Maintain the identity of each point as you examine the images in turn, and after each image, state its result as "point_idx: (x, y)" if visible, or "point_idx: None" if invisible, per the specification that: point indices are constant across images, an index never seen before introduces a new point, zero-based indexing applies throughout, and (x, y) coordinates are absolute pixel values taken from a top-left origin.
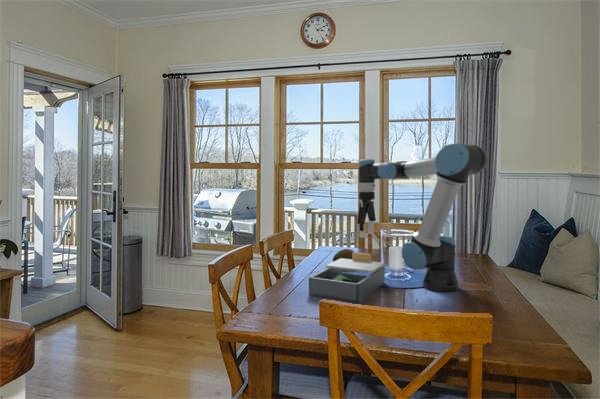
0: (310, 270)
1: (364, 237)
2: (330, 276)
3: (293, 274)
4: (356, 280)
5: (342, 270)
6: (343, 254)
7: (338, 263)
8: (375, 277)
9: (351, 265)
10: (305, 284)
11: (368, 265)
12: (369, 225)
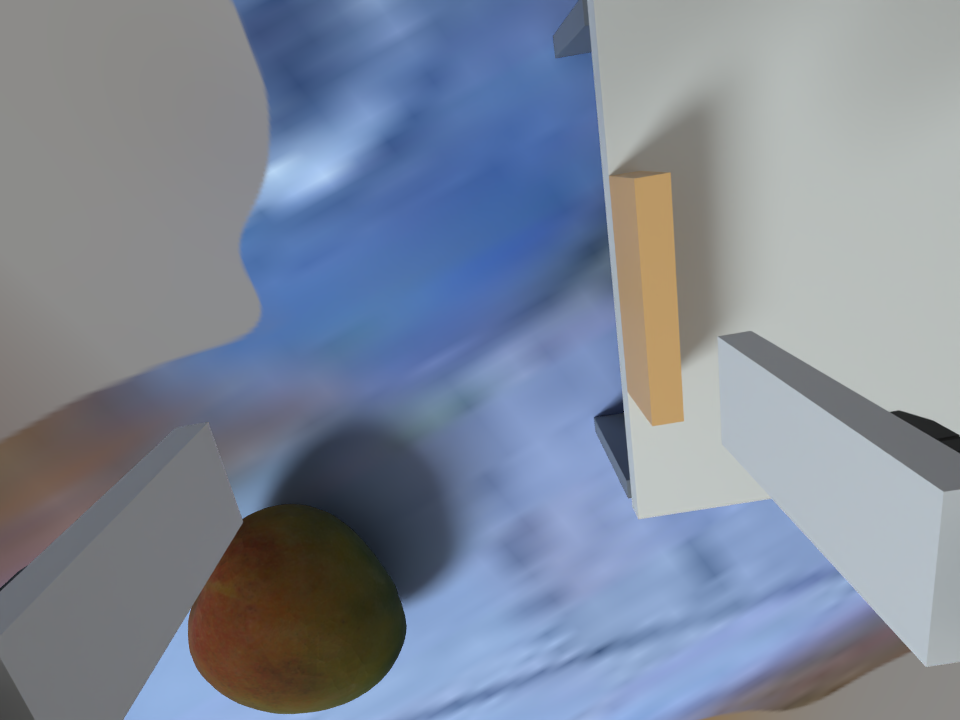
0: (559, 681)
1: (757, 336)
2: None
3: (715, 697)
4: None
5: (615, 441)
6: (353, 631)
7: None
8: None
9: (909, 256)
10: None
11: (827, 91)
12: (141, 636)
